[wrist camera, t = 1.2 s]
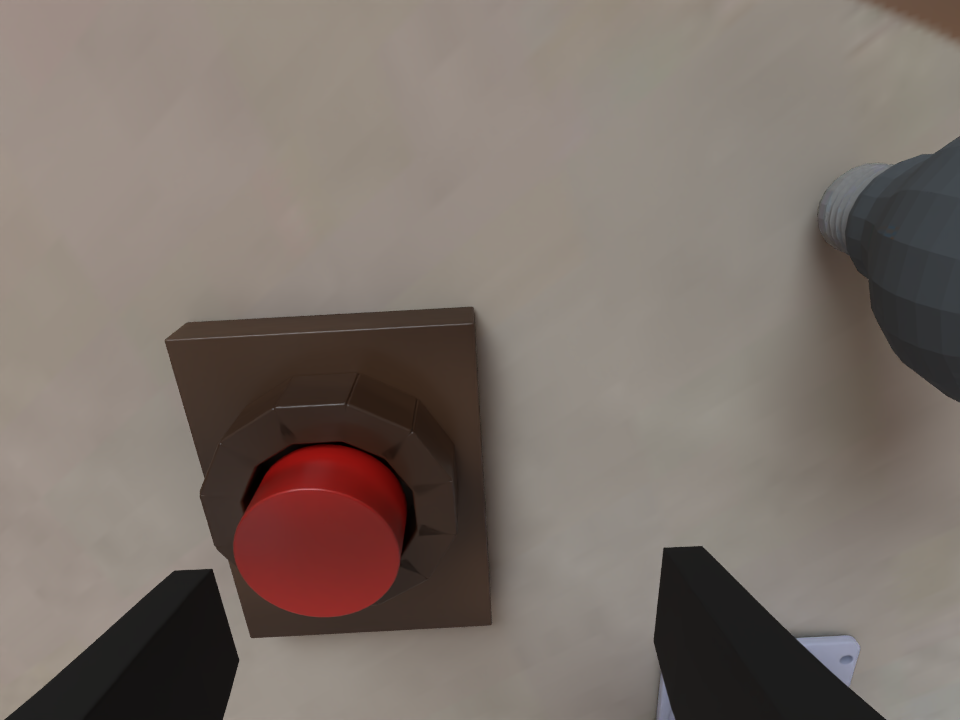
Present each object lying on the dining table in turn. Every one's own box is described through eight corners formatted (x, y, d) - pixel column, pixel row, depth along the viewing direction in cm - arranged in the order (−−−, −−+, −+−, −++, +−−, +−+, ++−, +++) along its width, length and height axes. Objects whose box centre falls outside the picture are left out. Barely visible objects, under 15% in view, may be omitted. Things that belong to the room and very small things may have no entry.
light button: (414, 559, 18) (407, 613, 16) (274, 566, 18) (251, 622, 16) (399, 438, 17) (390, 484, 15) (244, 447, 17) (215, 493, 15)
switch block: (490, 594, 23) (494, 674, 20) (263, 607, 23) (230, 688, 20) (473, 306, 18) (474, 349, 15) (186, 321, 18) (126, 368, 15)
